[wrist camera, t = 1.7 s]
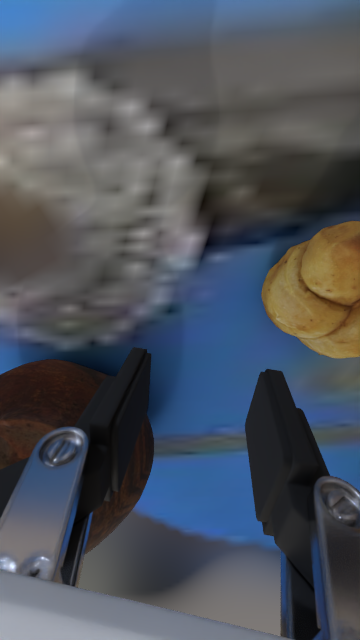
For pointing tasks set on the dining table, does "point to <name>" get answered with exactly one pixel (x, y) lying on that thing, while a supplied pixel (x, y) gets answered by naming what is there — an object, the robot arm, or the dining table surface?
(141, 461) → the jug
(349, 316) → the bread roll
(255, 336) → the dining table surface
